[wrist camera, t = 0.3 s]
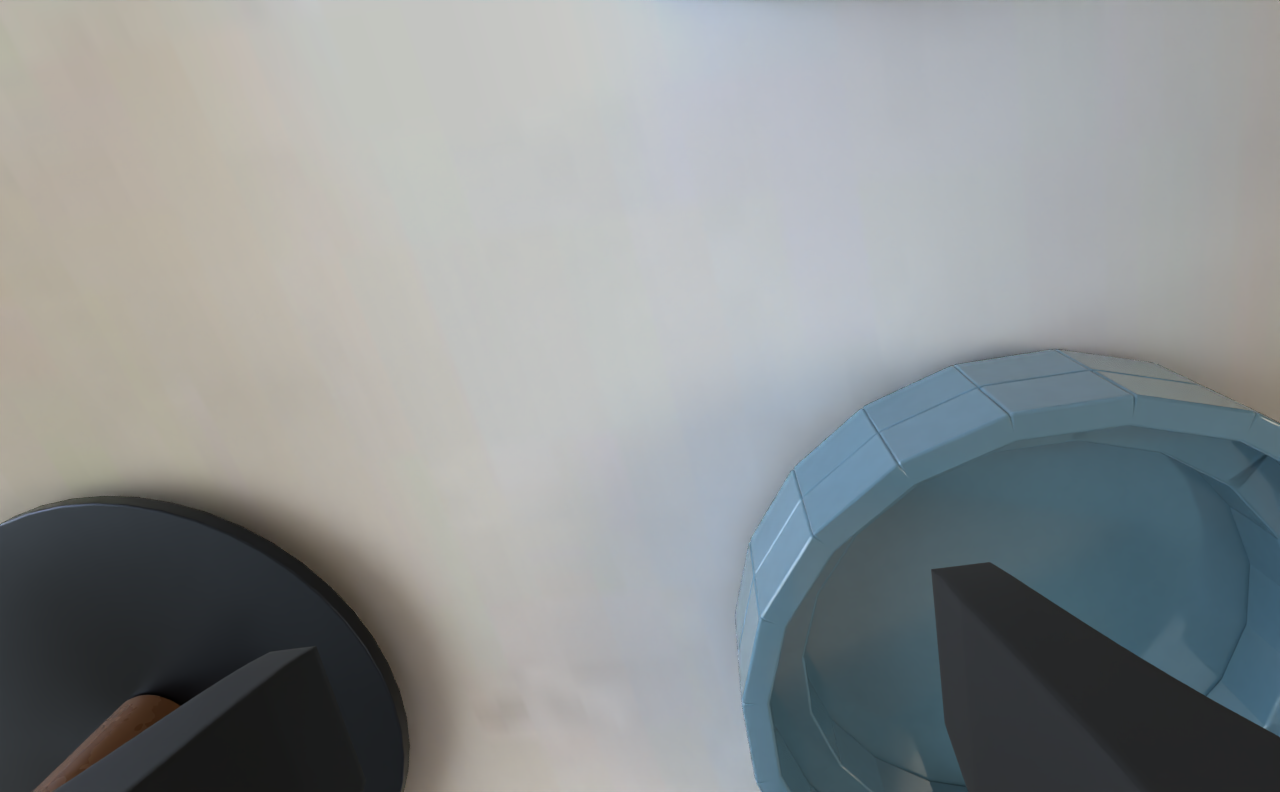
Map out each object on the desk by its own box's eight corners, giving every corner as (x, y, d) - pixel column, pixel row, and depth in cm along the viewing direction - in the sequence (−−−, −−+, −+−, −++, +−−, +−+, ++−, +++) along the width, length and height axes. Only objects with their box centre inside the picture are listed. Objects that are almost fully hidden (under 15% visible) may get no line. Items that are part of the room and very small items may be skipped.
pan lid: (470, 862, 23) (416, 1032, 19) (71, 894, 25) (-64, 1056, 21) (333, 449, 19) (223, 541, 15) (-132, 522, 21) (-355, 624, 17)
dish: (1282, 793, 20) (1408, 932, 17) (774, 835, 22) (788, 969, 18) (1322, 298, 16) (1498, 342, 13) (697, 396, 18) (697, 458, 14)
